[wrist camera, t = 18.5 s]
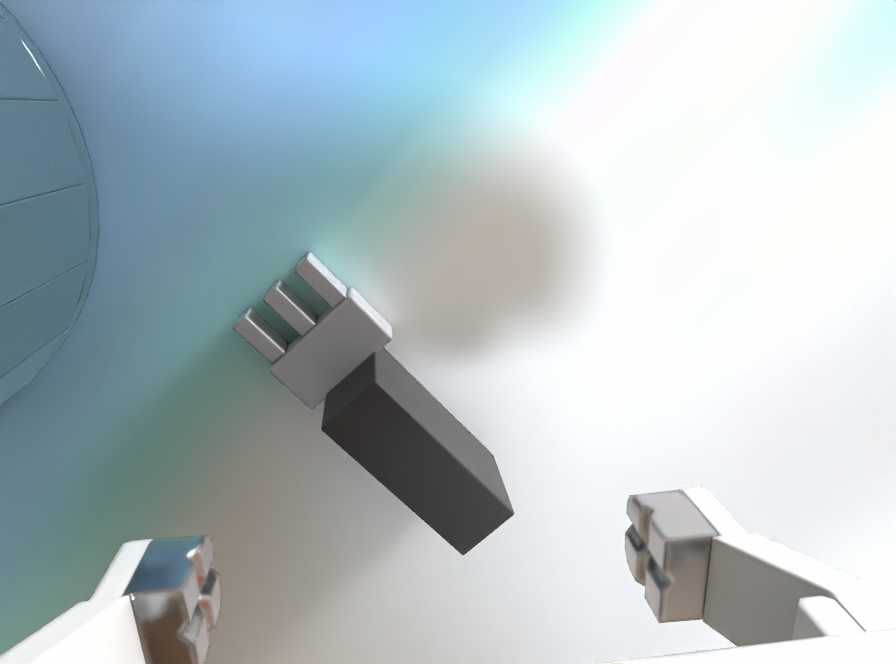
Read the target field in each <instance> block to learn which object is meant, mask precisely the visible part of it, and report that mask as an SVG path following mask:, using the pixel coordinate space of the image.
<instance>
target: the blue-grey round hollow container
mask: <svg viewBox="0 0 896 664" xmlns="http://www.w3.org/2000/svg"><path fill="white" fill-rule="evenodd" d="M98 235H99V229H98V203H97V194H96V189H95V183H94V177H93V172H92V166H91V162H90V159H89V155H88V152H87V149H86V146H85V143H84V139H83V136H82V133H81V130H80V127H79V125H78V122H77V120H76V118H75V116H74V114H73V111H72V109H71V107H70V105H69V102H68V100H67V98H66V96H65V93H64V91H63V90H62V88H61V86H60V84H59V83H58V81H57V79H56V78H55V76H54V74H53V73H52V71H51V69H50V68H49V66H48V64H47V63H46V61H45V59H44V57H43V56H42V54H41V53H40V52H39V50H38V49H37V48H36V46H35V45H34V44H33V42H32V41H31V40H30V38H29V37H28V36H27V34H26V33H25V32H24V30H23V29H22V28H21V26H20V25H19V24H18V22H17V21H16V20H15V19H14V18H13V17H12V15H11V14H10V13H9V12H8V11H7V10H6V9H5V8H4V7H3V6H2V5H1V4H0V406H1V405H2V404H3V403H4V402H6V401H7V400H8V399H9V398H11V397H12V396H13V395H14V394H15V393H17V392H18V391H19V390H20V389H22V388H23V387H24V386H25V385H27V384H28V383H29V382H30V381H31V380H32V379H33V378H34V377H35V375H36V374H37V373H38V372H39V371H40V370H41V369H42V368H43V367H44V365H45V364H46V363H47V362H48V361H49V360H50V359H51V357H52V356H53V355H54V354H55V353H56V352H57V351H58V349H59V348H60V347H61V345H62V344H63V342H64V341H65V339H66V337H67V336H68V334H69V333H70V331H71V329H72V328H73V326H74V325H75V323H76V321H77V319H78V316H79V314H80V312H81V309H82V307H83V305H84V302H85V300H86V298H87V295H88V292H89V288H90V284H91V280H92V276H93V272H94V269H95V263H96V254H97V244H98Z"/></svg>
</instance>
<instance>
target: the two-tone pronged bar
mask: <svg viewBox="0 0 896 664" xmlns="http://www.w3.org/2000/svg"><path fill="white" fill-rule="evenodd" d="M294 271H295V273H297V274H298V275H299V276H300V277H301V278H302V279H303V280H304V281H305V282H306V283H307V284H308V285H309V286H310V287H311V288H312V289H313V290H314V291H315V292H316V293H317V294H318V295H319V296H320V297H321V298H322V299H323V300H324V301H325V302H326V303H327V304H328V305H329V306H330V307H329V308H328V309H327V310H325V311H324V312H323V313H322V314H321V315H320V316H319V317H318V318H317V315H316V314H315V313H314V312H313V311H312V310H311V309H310V308H309V307H308V306H307V305H306V304H305V303H304V302H303V301H302V300H300V299H299V298H298V297H297V296H296V295H295V294H294V293H293V292H292V291H291V290H290V289H289V288H288V287H287V286H286V285H285V284H284V283H283V282H282V281H278V282H277V283H276V284H275V285H274V286H273V287H271V288H270V289H269V290H268V292H267V293H266V295H265V297H264V299H263V300H264V301H265V302H266V303H267V304H268V305H269V306H270V307H271V308H272V309H273V310H274V311H275V312H276V313H277V314H278V315H279V316H281V317H282V318H283V319H284V320H285V321H286V322H287V323H288V324H289V325H290V326H291V327H292V328H293V329H294V330H295V331H297V332H298V333H299V335H298V336H297V337H296V338H295V339H294V340H293V341H292V342H290V343H289V344H288V342H287V341H286V340H285V339H284V338H283V337H282V336H281V335H280V334H278V333H277V332H276V331H275V330H274V329H273V328H272V327H271V326H270V325H269V324H268V323H267V322H265V321H264V320H263V319H262V318H261V317H260V316H259V315H258V314H257V313H256V312H255V311H254V310H253V309H251V308H250V309H248V310H247V311H246V312H245V313H244V314H243V315H242V316H240V317H239V318H238V320H237V322H236V323H235V325H234V327H233V329H234V330H235V331H236V332H237V333H238V334H239V335H240V336H242V337H243V338H244V339H245V340H246V341H247V342H248V343H249V344H250V345H252V346H253V347H254V348H255V349H256V350H257V351H258V352H259V353H260V354H262V355H263V356H264V357H265V358H266V359H267V360H268V361H269V362H270V363H272V365H271V367H270V370H269V371H270V373H271V374H272V375H273V376H274V377H275V378H277V379H278V380H279V381H280V382H281V383H282V384H283V385H284V386H285V387H287V388H288V389H289V390H290V391H291V392H292V393H293V394H294V395H296V396H297V397H298V398H299V399H300V400H301V401H302V402H303V403H304V404H306V405H307V406H308V407H309V408H310V409H314V408H315V407H316V406H318V405H319V404H320V403H321V402H322V401H323V400H324V399H325V398H326V400H325V407H324V414H323V421H322V428H321V429H322V431H323V432H324V433H325V434H327V435H328V436H329V437H330V438H331V439H332V440H333V441H335V442H336V443H337V444H338V445H339V446H340V447H341V448H342V449H344V450H345V451H346V452H347V453H348V454H349V455H350V456H351V457H353V458H354V459H355V460H356V461H357V462H358V463H359V464H360V465H362V466H363V467H364V468H365V469H366V470H367V471H368V472H369V473H371V474H372V475H373V476H374V477H375V478H376V479H377V480H378V481H380V482H381V483H382V484H383V485H384V486H385V487H386V488H387V489H389V490H390V491H391V492H392V493H393V494H394V495H395V496H396V497H398V498H399V499H400V500H401V501H402V502H403V503H404V504H405V505H407V506H408V507H409V508H410V509H411V510H412V511H413V512H415V513H416V514H417V515H418V516H419V517H420V518H421V519H422V520H424V521H425V522H426V523H427V524H428V525H429V526H430V527H431V528H433V529H434V530H435V531H436V532H437V533H438V534H439V535H440V536H442V537H443V538H444V539H445V540H446V541H447V542H448V543H449V544H451V545H452V546H453V547H454V548H455V549H456V550H457V551H458V552H460V553H461V554H462V555H465V554H466V553H467V552H468V551H470V550H471V549H472V548H473V547H475V546H476V545H477V544H478V543H479V542H481V541H482V540H483V539H484V538H486V537H487V536H488V535H489V534H491V533H492V532H493V531H494V530H495V529H497V528H498V527H499V526H500V525H502V524H503V523H504V522H505V521H507V520H508V519H509V518H510V517H511V516H513V515H514V511H513V508H512V506H511V503H510V500H509V497H508V495H507V492H506V489H505V486H504V484H503V481H502V478H501V475H500V473H499V470H498V467H497V464H496V462H495V459H494V456H493V455H492V454H491V453H490V452H489V451H488V450H487V449H486V448H485V447H484V446H483V445H482V444H481V443H480V442H479V441H478V440H477V439H476V438H475V437H474V436H473V435H472V434H471V433H470V432H469V431H468V430H467V429H466V428H465V427H464V426H463V425H462V424H461V423H460V422H459V421H457V420H456V419H455V418H454V417H453V416H452V415H451V414H450V413H449V412H448V411H447V410H446V409H445V408H444V407H443V406H442V405H441V404H440V403H439V402H438V401H437V400H436V399H435V398H434V397H433V396H432V395H431V394H430V393H429V392H428V391H427V390H426V389H425V388H424V387H423V386H422V385H421V384H420V383H419V382H418V381H417V380H416V379H415V378H414V377H413V376H412V375H411V374H410V373H409V372H408V371H407V370H406V369H405V368H404V367H403V366H402V365H401V364H400V363H399V362H398V361H397V360H396V359H395V358H393V357H392V356H391V355H390V354H389V353H388V352H387V351H386V350H385V349H384V348H383V347H384V346H385V345H386V344H387V343H388V342H389V341H391V340H392V338H393V335H392V327H391V325H390V324H389V323H388V322H387V321H386V320H385V319H384V318H383V317H382V316H381V315H380V314H379V313H378V312H377V311H376V310H375V309H374V308H373V307H372V306H371V305H370V304H369V303H368V302H367V301H366V300H365V299H364V298H363V297H362V296H361V295H360V294H359V293H358V292H357V291H356V290H355V289H354V288H350V289H348V290H347V288H346V287H345V286H344V285H343V284H342V283H341V282H340V281H339V280H338V279H337V278H336V277H335V276H334V275H333V274H332V273H331V272H330V271H329V270H328V269H327V268H326V267H325V266H324V265H323V264H322V263H321V262H320V261H319V260H318V259H317V258H316V257H315V256H314V255H313V254H312V253H308V254H307V255H306V256H305V257H304V258H303V259H301V260H300V261H299V262H298V264H297V266H296V268H295V270H294Z"/></svg>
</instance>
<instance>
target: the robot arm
mask: <svg viewBox="0 0 896 664" xmlns="http://www.w3.org/2000/svg"><path fill="white" fill-rule="evenodd" d="M626 514H627V515H628V517H629V518H630V520H631V522H632V525H631V526H630V527H629V528H628V530H627V531H626V532H625V551H626V558H627V563H628V565H629V568H630V571H631V573H632V575H633V577H634V579H635V581H637V582H638V583H640V584H642V585H643V586H645V599H646V601H647V603H648V604H649V606H650V608H651V610H652V611H653V613H654V615H655V617H656V619H657V620H658V622H659V623H664V622H676V621H688V620H700V619H703V622H705V623H706V624H708V625H709V626H710V627H712V628H713V629H714V630H716V631H717V632H718V633H720V634H721V635H723V636H724V637H725V638H727V639H728V640H729V641H731V642H732V643H734V644H735V645H736V646H738V647H731V648H722V649H714V650H705V651H697V652H688V653H680V654H671V655H663V656H655V657H646V658H638V659H629V660H621V661H612V662H604V663H595V664H896V603H895V602H894V601H893V600H892V599H891V598H890V597H889V596H888V595H887V594H886V593H885V592H884V591H883V590H882V589H881V588H879V587H877V586H875V585H872V584H870V583H868V582H865V581H863V580H861V579H859V578H856V577H854V576H852V575H849V574H847V573H845V572H843V571H840V570H838V569H836V568H834V567H831V566H829V565H827V564H824V563H822V562H820V561H818V560H815V559H813V558H811V557H808V556H806V555H804V554H802V553H799V552H797V551H795V550H792V549H790V548H788V547H786V546H783V545H781V544H779V543H776V542H774V541H772V540H770V539H767V538H765V537H763V536H760V535H758V534H756V533H746V532H745V531H744V530H743V528H742V527H741V526H740V525H739V524H738V523H737V522H736V521H735V519H734V518H733V517H732V516H731V515H730V514H729V513H728V512H727V510H726V509H725V508H724V507H723V506H722V505H721V504H720V503H719V501H718V500H717V499H716V498H715V497H714V496H713V495H712V493H711V492H710V491H709V490H708V489H707V488H705V487H702V486H701V487H693V488H685V489H678V490H674V491H665V492H656V493H647V494H638V495H630V496H629V499H628V502H627V513H626ZM214 554H215V552H214V548H213V543H212V539H211V538H210V537H209V536H208V535H199V536H186V537H172V538H159V539H154V540H153V539H146V540H136V541H127V542H125V543H124V544H122V545H121V546H120V548H119V550H118V551H117V553H116V555H115V557H114V558H113V560H112V562H111V563H110V565H109V567H108V568H107V570H106V572H105V574H104V575H103V577H102V579H101V580H100V582H99V584H98V586H97V587H96V589H95V591H94V592H93V594H92V596H91V597H90V599H89V601H82V602H79V603H77V604H76V605H74V606H73V607H71V608H70V609H68V610H67V611H66V612H64V613H63V614H61V615H60V616H58V617H57V618H55V619H54V620H52V621H51V622H49V623H48V624H46V625H45V626H43V627H42V628H40V629H39V630H37V631H36V632H34V633H33V634H31V635H30V636H28V637H27V638H25V639H24V640H22V641H21V642H19V643H18V644H16V645H15V646H13V647H12V648H10V649H9V650H7V651H6V652H4V653H3V654H1V655H0V664H204V663H205V660H206V657H207V653H208V650H209V647H210V642H209V637H208V633H209V632H210V631H211V630H212V629H213V628H214V627H215V626H216V624H217V620H218V617H219V613H220V604H221V586H220V579H219V573H217V572H216V571H215V570H214V569H213V568H212V567H211V563H212V560H213V557H214Z"/></svg>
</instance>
